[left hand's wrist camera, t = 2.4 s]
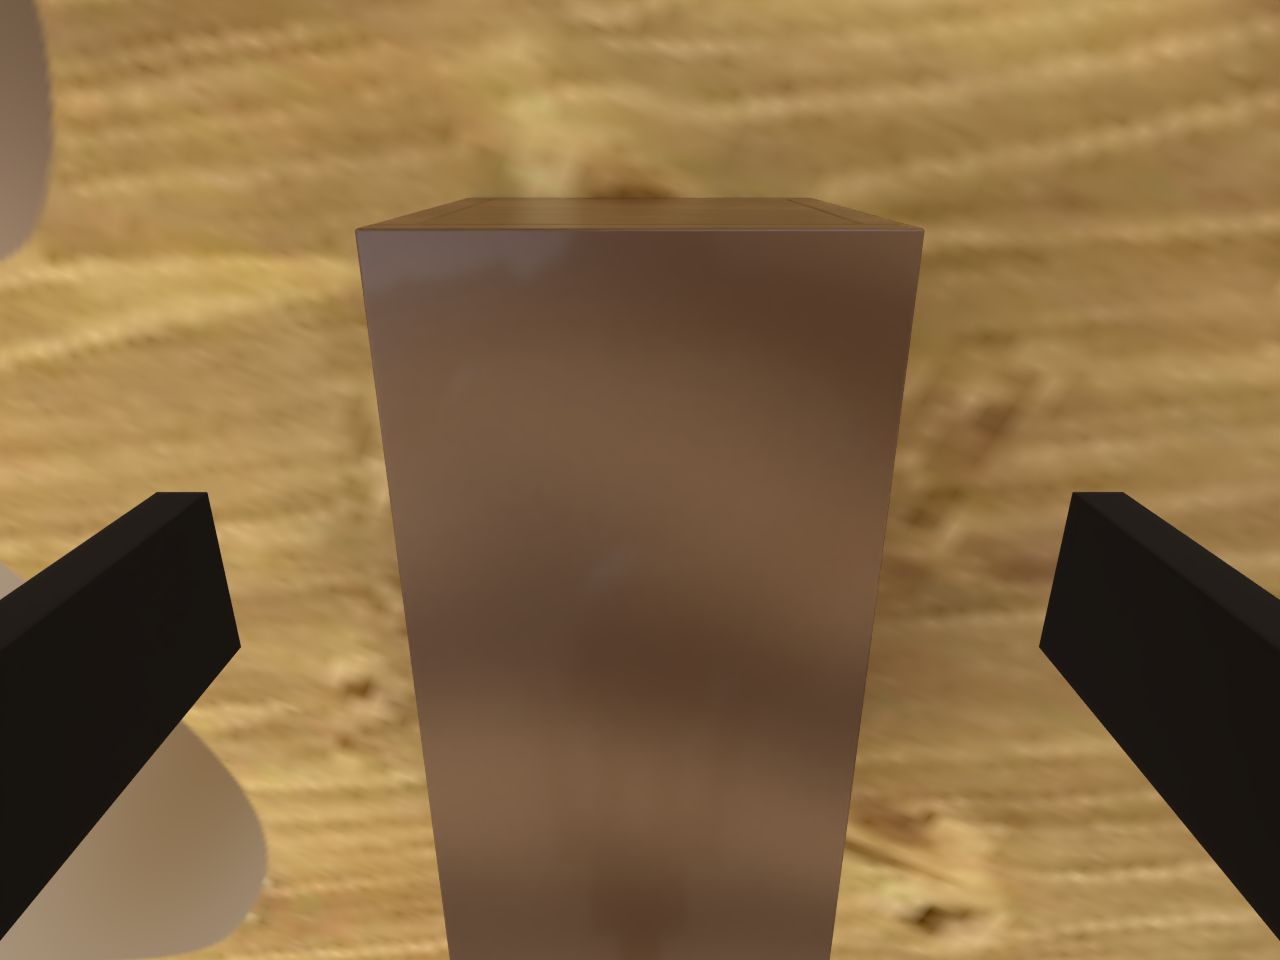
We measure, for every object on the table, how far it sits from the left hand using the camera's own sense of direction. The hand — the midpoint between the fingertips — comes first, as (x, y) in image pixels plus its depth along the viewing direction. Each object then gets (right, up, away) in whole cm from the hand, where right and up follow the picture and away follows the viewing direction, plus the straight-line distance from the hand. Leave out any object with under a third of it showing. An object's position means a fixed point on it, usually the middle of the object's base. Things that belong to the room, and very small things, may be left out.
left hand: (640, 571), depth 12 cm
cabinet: (0, +1, +16) cm, 16 cm away
